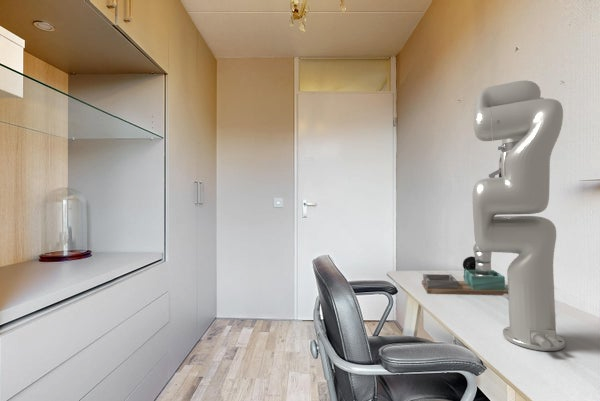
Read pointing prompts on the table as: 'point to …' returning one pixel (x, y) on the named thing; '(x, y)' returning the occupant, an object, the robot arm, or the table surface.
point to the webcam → (469, 263)
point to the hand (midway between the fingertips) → (517, 196)
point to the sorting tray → (465, 284)
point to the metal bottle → (482, 262)
